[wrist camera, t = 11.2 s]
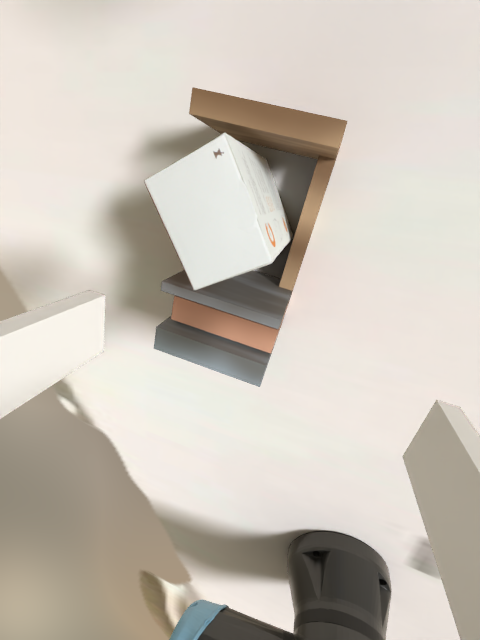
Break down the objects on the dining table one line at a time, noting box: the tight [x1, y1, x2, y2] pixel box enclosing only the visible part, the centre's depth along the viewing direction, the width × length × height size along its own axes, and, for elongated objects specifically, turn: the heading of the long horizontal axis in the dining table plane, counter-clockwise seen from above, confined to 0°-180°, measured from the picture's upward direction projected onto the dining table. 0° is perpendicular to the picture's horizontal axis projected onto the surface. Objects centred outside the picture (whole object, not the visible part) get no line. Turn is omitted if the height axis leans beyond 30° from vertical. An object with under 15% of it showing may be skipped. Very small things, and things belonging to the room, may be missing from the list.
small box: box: [144, 133, 293, 290], centre depth 25 cm, size 8×6×13 cm
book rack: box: [154, 88, 347, 387], centre depth 26 cm, size 19×10×12 cm, turn 166°
